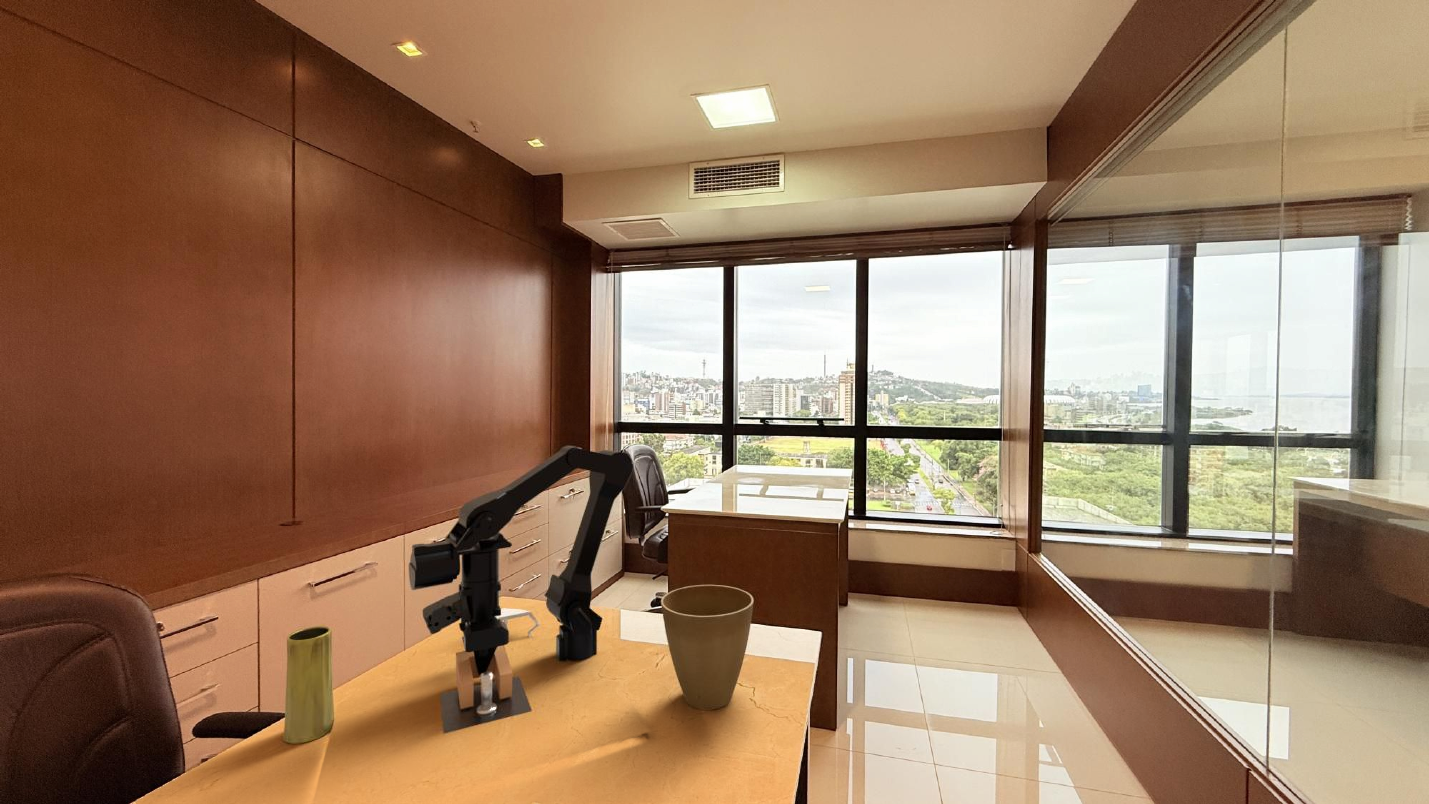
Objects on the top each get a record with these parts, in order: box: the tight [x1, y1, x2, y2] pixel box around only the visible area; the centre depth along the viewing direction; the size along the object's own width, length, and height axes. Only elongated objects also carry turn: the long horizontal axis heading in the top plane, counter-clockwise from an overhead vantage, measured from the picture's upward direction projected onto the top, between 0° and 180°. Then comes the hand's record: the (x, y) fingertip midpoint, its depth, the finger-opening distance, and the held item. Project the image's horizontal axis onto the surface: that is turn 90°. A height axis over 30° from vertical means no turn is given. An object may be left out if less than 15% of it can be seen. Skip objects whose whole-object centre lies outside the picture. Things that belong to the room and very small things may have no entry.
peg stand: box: [440, 671, 533, 734], centre depth 86 cm, size 12×12×6 cm
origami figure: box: [495, 607, 540, 638], centre depth 112 cm, size 12×8×5 cm
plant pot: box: [660, 584, 754, 711], centre depth 89 cm, size 15×15×16 cm
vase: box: [282, 625, 335, 745], centre depth 80 cm, size 6×6×14 cm
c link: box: [455, 645, 513, 709], centre depth 89 cm, size 7×9×4 cm
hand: (480, 670), depth 92 cm, fingers closed on c link, 2 cm apart
